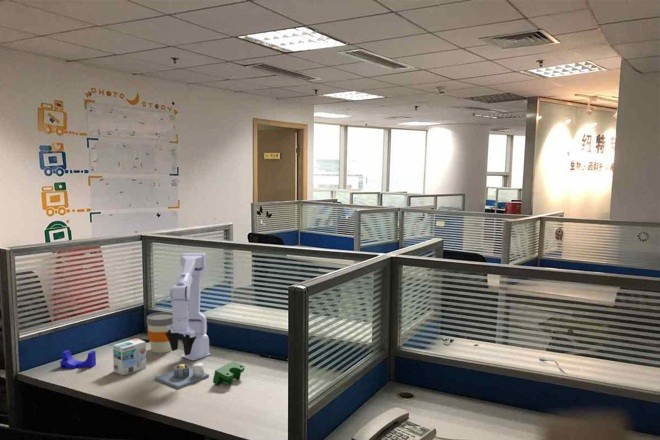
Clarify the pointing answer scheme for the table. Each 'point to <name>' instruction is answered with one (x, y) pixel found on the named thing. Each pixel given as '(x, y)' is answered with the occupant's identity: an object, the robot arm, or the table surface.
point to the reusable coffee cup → (159, 331)
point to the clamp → (228, 373)
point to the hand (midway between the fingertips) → (181, 352)
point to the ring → (181, 372)
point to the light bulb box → (129, 356)
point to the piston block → (194, 376)
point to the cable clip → (71, 363)
